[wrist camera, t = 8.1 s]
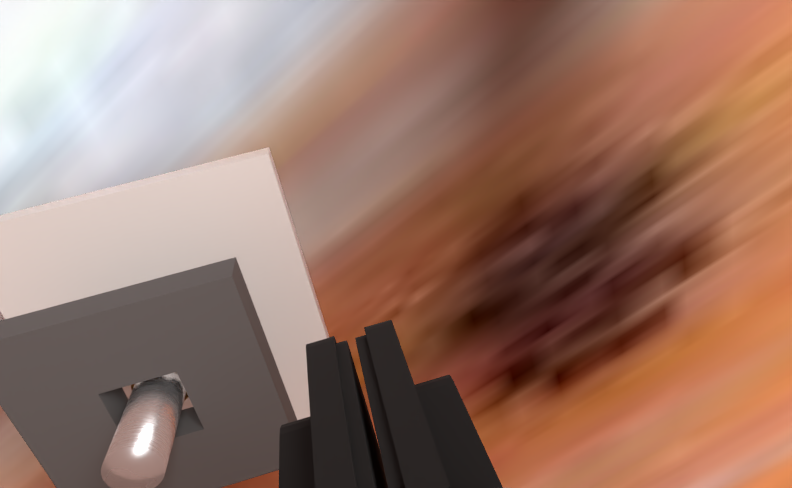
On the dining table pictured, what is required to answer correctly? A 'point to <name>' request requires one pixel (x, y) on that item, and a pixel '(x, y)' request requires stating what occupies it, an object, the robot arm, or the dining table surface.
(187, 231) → the stand plate
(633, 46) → the dining table surface
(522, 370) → the dining table surface
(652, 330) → the dining table surface
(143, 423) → the glossy pinkish cylinder
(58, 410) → the square hole plate
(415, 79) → the dining table surface
